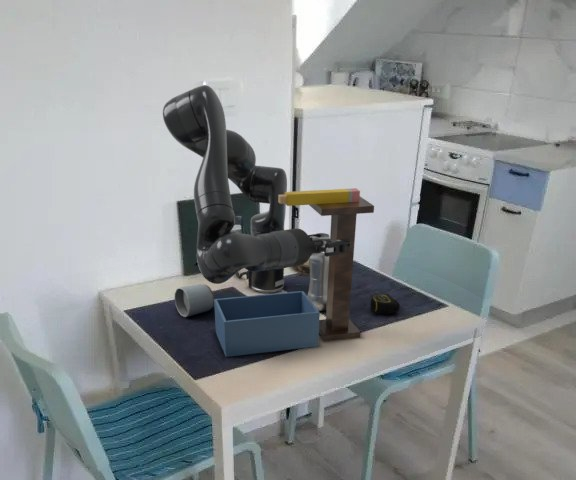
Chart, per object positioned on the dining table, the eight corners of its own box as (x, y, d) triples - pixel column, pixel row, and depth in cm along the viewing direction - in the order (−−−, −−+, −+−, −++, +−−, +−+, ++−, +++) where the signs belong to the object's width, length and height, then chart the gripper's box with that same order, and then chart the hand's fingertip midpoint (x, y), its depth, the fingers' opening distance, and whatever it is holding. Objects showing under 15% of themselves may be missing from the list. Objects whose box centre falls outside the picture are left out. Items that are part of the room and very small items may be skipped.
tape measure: (400, 315, 162) (401, 301, 160) (376, 317, 160) (377, 304, 158) (388, 305, 168) (390, 292, 166) (365, 307, 166) (366, 294, 164)
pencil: (280, 206, 132) (280, 195, 131) (277, 203, 134) (277, 192, 133) (359, 201, 136) (360, 190, 135) (355, 199, 138) (356, 188, 137)
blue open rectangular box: (225, 357, 141) (224, 322, 136) (215, 332, 151) (214, 299, 147) (318, 346, 146) (319, 312, 141) (302, 323, 157) (303, 290, 152)
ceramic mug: (216, 313, 161) (215, 285, 157) (190, 321, 156) (187, 292, 153) (195, 301, 168) (193, 274, 164) (168, 308, 163) (166, 281, 160)
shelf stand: (315, 343, 147) (321, 208, 131) (303, 326, 155) (307, 197, 139) (362, 338, 150) (374, 205, 134) (348, 321, 158) (357, 194, 142)
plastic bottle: (324, 315, 161) (327, 240, 151) (301, 309, 164) (304, 236, 154) (335, 307, 166) (340, 234, 155) (313, 301, 169) (316, 229, 158)
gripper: (311, 234, 120) (361, 227, 131) (259, 226, 129) (310, 220, 140) (309, 272, 123) (358, 262, 134) (259, 262, 132) (309, 253, 143)
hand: (333, 241), depth 137 cm, fingers open, 8 cm apart
